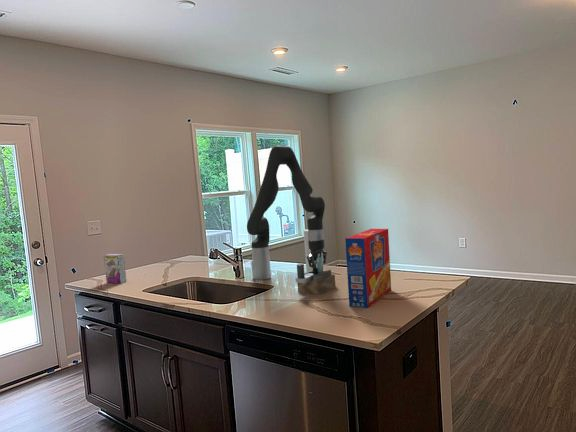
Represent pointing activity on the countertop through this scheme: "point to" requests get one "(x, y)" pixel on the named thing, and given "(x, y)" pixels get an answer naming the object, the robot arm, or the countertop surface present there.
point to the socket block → (318, 283)
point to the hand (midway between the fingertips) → (318, 274)
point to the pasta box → (368, 267)
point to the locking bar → (301, 276)
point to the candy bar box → (115, 268)
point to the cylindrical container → (307, 250)
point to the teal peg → (319, 265)
